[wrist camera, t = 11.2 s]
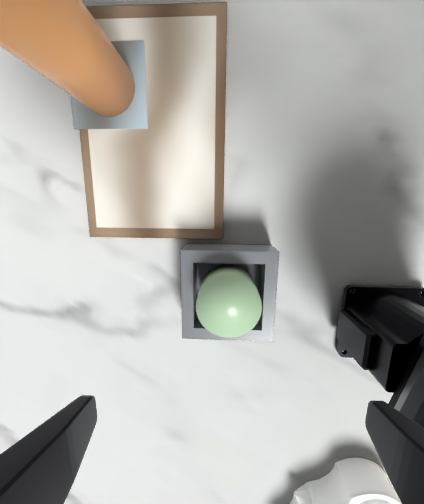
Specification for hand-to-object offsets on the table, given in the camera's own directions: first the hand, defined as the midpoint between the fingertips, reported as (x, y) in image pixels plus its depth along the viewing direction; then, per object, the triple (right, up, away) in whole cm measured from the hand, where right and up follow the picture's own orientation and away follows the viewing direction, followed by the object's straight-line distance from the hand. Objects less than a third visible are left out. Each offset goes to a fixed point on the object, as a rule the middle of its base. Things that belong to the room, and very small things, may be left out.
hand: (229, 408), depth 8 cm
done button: (+1, +2, +11) cm, 11 cm away
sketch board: (-5, +14, +11) cm, 19 cm away
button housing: (+1, +2, +13) cm, 13 cm away
